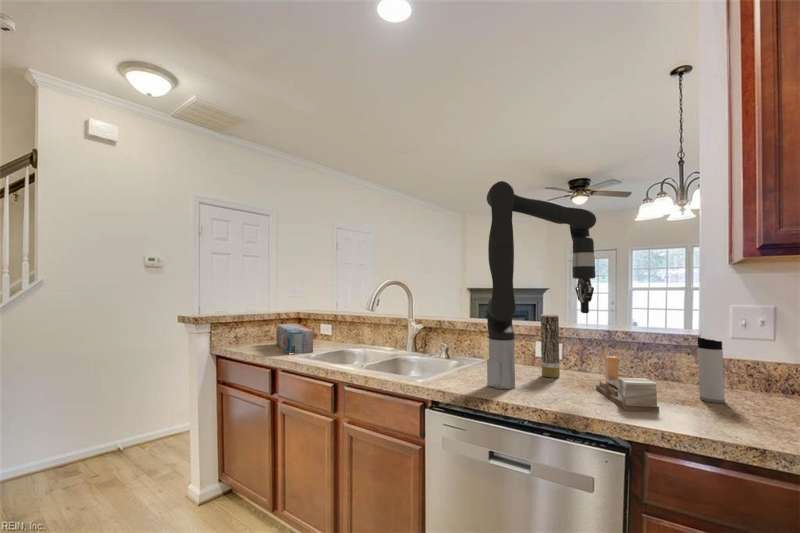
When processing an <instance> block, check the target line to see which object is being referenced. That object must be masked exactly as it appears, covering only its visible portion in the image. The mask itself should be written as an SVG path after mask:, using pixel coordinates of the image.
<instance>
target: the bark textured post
mask: <svg viewBox="0 0 800 533" xmlns="http://www.w3.org/2000/svg"><path fill="white" fill-rule="evenodd" d="M559 324H560V323H559V314H556V313H555V314H552V313H542V314H540V348H541V349H540V350H541V351H540V353H541V375H542V377H545V378H551V379H557V378H559V377H560V375H561V374H560V332H559V331H560V330H559V328H560V327H559Z"/></svg>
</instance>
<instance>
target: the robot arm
mask: <svg viewBox="0 0 800 533" xmlns="http://www.w3.org/2000/svg"><path fill="white" fill-rule="evenodd" d="M486 202H487V205H488V206H490V209H491V223H490V231H489V235H488V248H487V249H488V254H487V255H488V256H487V257H488V265H489V270H490V275H491V280H492V290H491V291H492V292H491V298H490V299H489V300H488V303H487V306H486V307H487V308H486V309H487V310H486V313H487V314H486V315H487V316H486V318H487V333H488V359H487V360H486V378H487V379H486V381H487V383H486V384H487V386H488V387H491V388H495V389H497V390H509V389H514V388H516V362H515V359H516V358H515V357H516V356H515V351H516V350H515V330H514V327H513V317H514V316H515V313H516V300H515V299H516V298H515V292H514V291H515V290H514V270H515V268H514V267H515V266H514V265H515V244H514V242H515V240H514V227H513V212H514V213H519V214H523V215H528V216H531V217H534V218H538V219H540V220H544V221H547V222H550V223H554V224H559V225H564V224H565V225H569V231H570V236H571V240H572V260H571V261H572V262H571V264H572V278H573V279H577V284H576V286H575V293H576V296H577V300H578V301H579V303H580V313H581V314H589V313H590V308H589V306H590V304H589V303H590V302H592V299H593V294H594V291H595V288H594V287H593V285H592V282H591V279H595V278H596V257H595V249H594V248H595V246H594V245H595V243H594V239H593V238H592V237H591V236H590V235H591V234H590V229H592V228H593V227H594V226H595V225H596V223H597V217H596V215H595V214H594V213H593V211H590V210H588V209H584V208H579V207H573V206H567V205H563V204H560V203H557V202H554V201H551V200H546V199H537V198H530V197H526V196H525V197H524V196H521V195H518V194H516V193H515V190H514V187H512V185H511V184H510V183H509V182H507V181H504V180H500V181H497V182H496V183H494V184H493V185H492V186H490V188H489V190H488V192H487V193H486Z"/></svg>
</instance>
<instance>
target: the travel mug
mask: <svg viewBox="0 0 800 533" xmlns="http://www.w3.org/2000/svg"><path fill="white" fill-rule="evenodd" d="M723 353H724V352H723V340H722V341H721V340H714V339H710V338H704V337H697V363H698V364H697V366H698V386H699V388H698V391H699V399H700V400H701V401H703V400H704V401H703V402H706V401H708V402H707V403H711V402H712V404H724V403H725V402H726V397H725V395H726V394H725V376H724V354H723Z"/></svg>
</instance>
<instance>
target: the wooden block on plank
mask: <svg viewBox="0 0 800 533" xmlns="http://www.w3.org/2000/svg"><path fill="white" fill-rule="evenodd" d="M595 389H596V390H597V391H598V392H600V393H601V394H603V395H604V396H605V397H606V398H608V399H609V400H610V401H612V402H614V403H615V404H616V405H617V406H619V407H620V408H621V409H624V411H626V412H644V413H645V412H647V413H649V412H650V413H659V412H660V406H658V396H657V395H658V394H657V393H658V392H657V390H658V389H657V383H656V382H655V381H653V380H650V379H648V378H635V377H618V390H617V389H615V388H614V387H611V386H610V385H608V384H607V383H606V381H604V380H599V384H595Z"/></svg>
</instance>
